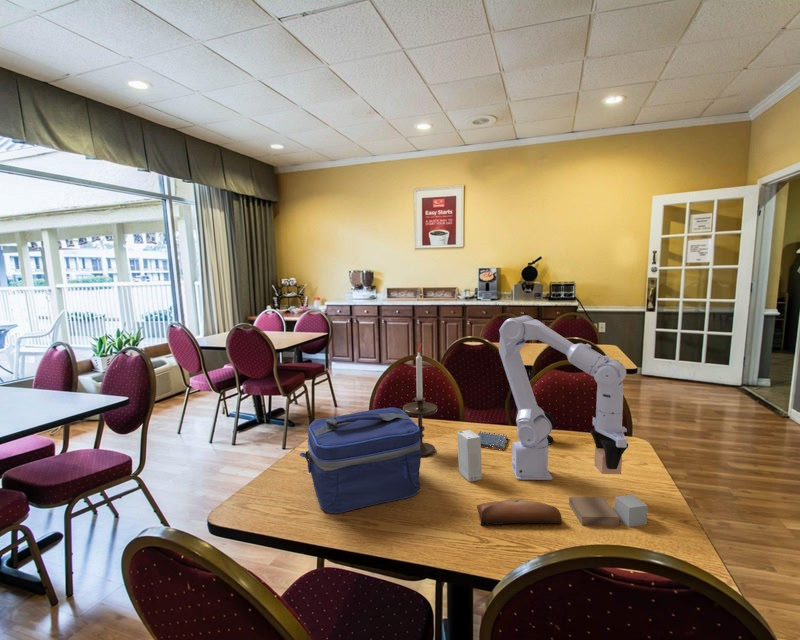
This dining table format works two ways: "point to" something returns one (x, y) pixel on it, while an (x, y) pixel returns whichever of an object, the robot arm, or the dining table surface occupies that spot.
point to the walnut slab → (593, 511)
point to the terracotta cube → (601, 463)
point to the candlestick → (421, 408)
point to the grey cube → (631, 510)
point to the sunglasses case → (518, 512)
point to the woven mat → (492, 440)
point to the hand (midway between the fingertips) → (607, 463)
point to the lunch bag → (363, 458)
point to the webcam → (552, 426)
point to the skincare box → (469, 455)
